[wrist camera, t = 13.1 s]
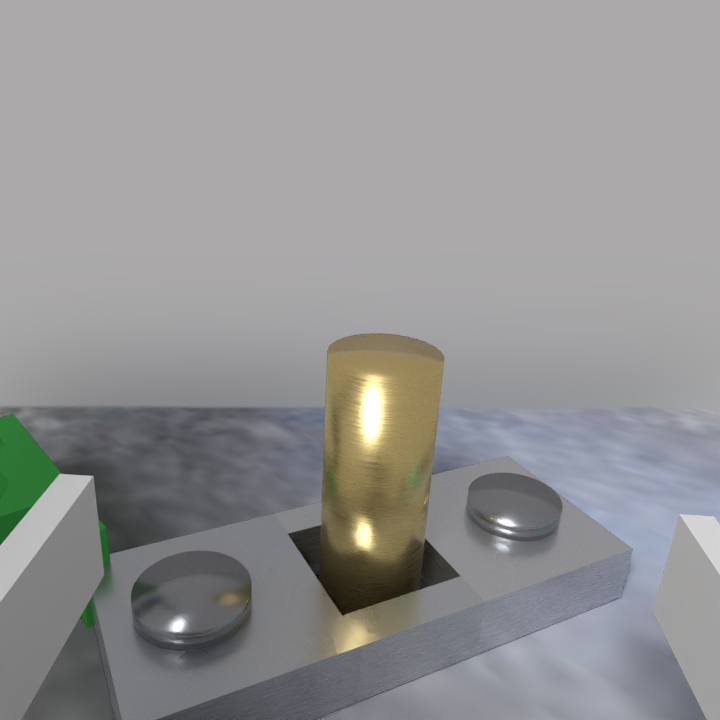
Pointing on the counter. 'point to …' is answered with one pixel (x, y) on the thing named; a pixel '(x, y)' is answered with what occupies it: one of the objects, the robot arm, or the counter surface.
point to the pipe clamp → (28, 483)
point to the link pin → (377, 466)
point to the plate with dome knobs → (322, 618)
